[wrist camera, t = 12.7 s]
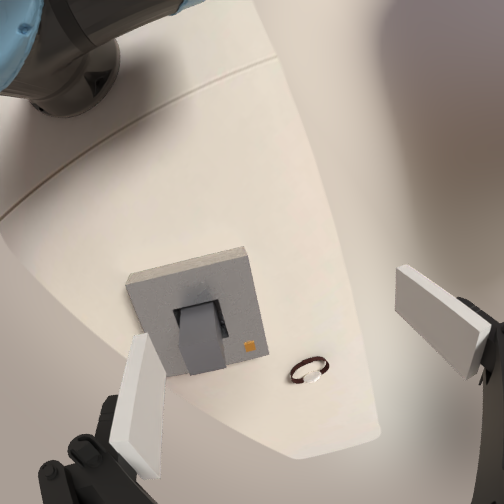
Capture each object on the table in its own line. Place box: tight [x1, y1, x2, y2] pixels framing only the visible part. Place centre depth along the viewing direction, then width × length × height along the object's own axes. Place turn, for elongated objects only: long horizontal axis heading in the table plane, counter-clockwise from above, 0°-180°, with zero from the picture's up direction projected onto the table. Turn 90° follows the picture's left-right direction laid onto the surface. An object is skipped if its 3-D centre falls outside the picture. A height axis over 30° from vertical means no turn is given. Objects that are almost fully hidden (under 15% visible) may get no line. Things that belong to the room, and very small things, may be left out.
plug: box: [178, 300, 226, 376], centre depth 44 cm, size 5×5×12 cm
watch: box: [290, 356, 329, 384], centre depth 56 cm, size 8×5×4 cm, turn 111°
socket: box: [125, 246, 269, 377], centre depth 48 cm, size 18×18×4 cm
